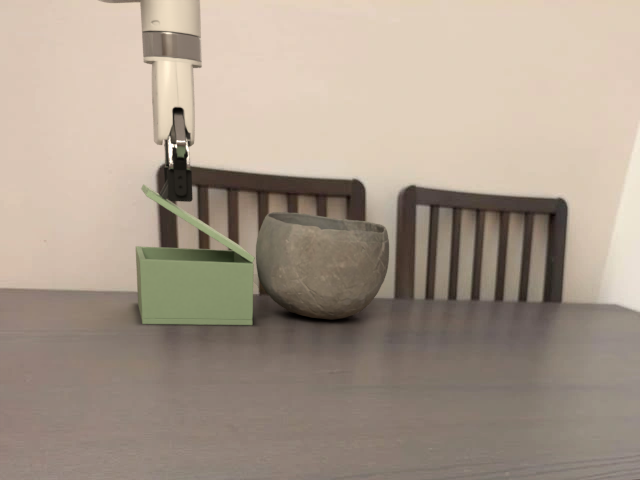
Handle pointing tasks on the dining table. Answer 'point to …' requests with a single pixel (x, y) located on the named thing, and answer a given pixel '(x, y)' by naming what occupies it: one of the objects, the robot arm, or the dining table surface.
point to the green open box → (194, 286)
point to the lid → (194, 220)
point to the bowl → (321, 263)
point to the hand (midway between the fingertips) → (178, 198)
